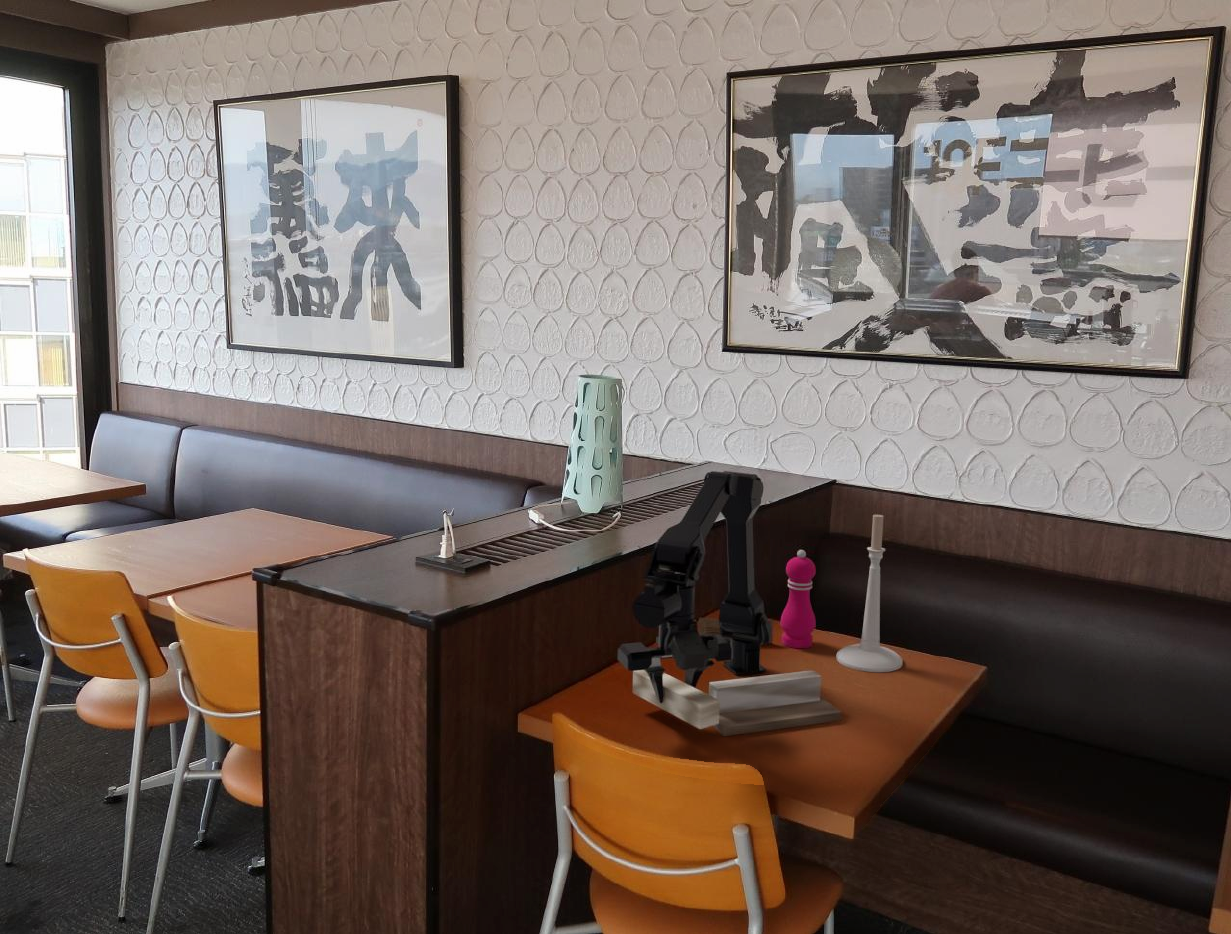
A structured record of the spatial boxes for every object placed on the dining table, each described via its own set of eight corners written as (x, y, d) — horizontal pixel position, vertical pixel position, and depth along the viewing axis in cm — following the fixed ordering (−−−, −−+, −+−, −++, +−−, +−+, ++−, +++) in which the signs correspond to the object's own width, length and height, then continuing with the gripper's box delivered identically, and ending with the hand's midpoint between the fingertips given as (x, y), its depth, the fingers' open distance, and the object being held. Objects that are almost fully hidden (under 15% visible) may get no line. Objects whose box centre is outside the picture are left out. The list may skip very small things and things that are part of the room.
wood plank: (772, 641, 217) (773, 618, 217) (772, 645, 215) (773, 621, 215) (698, 638, 219) (699, 615, 218) (698, 641, 217) (698, 618, 216)
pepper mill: (793, 635, 221) (797, 543, 218) (821, 644, 216) (826, 550, 213) (772, 642, 216) (776, 549, 213) (801, 652, 211) (806, 556, 208)
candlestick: (862, 675, 199) (871, 522, 194) (823, 654, 210) (831, 508, 205) (916, 667, 204) (926, 517, 199) (875, 646, 216) (884, 504, 210)
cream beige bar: (632, 693, 181) (633, 671, 180) (650, 688, 183) (651, 666, 182) (700, 729, 166) (700, 705, 166) (718, 723, 169) (719, 700, 168)
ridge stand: (690, 704, 184) (691, 671, 183) (800, 690, 191) (802, 659, 190) (723, 736, 171) (725, 701, 170) (841, 720, 178) (842, 687, 177)
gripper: (641, 631, 161) (638, 726, 164) (749, 621, 167) (745, 712, 170) (617, 610, 172) (615, 700, 174) (720, 601, 178) (717, 687, 181)
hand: (674, 700), depth 175 cm, fingers closed on cream beige bar, 5 cm apart
